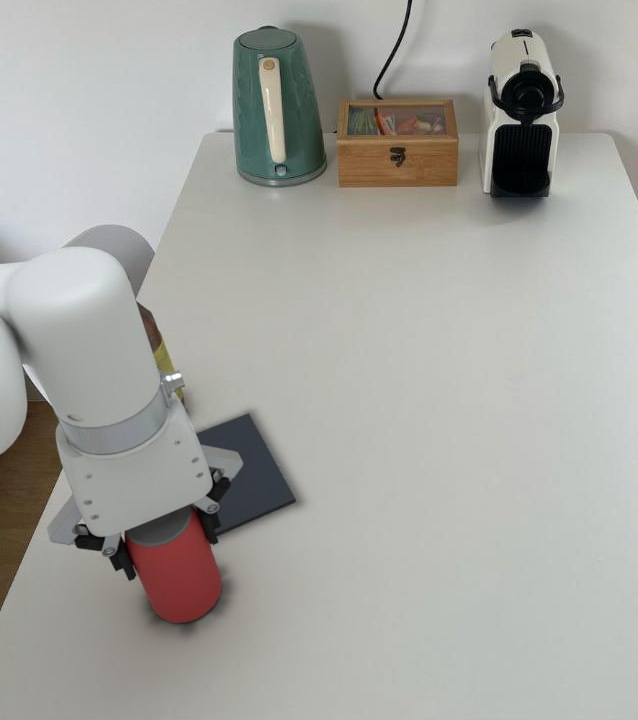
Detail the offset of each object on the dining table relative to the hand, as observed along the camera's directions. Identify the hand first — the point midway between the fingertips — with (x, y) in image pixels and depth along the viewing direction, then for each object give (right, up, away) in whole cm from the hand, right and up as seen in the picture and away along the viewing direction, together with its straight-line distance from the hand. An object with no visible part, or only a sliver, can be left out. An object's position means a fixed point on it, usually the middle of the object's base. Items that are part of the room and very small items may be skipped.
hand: (169, 548), depth 71 cm
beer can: (0, -6, +5) cm, 8 cm away
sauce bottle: (-8, +11, +23) cm, 26 cm away
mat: (0, +4, +15) cm, 15 cm away
